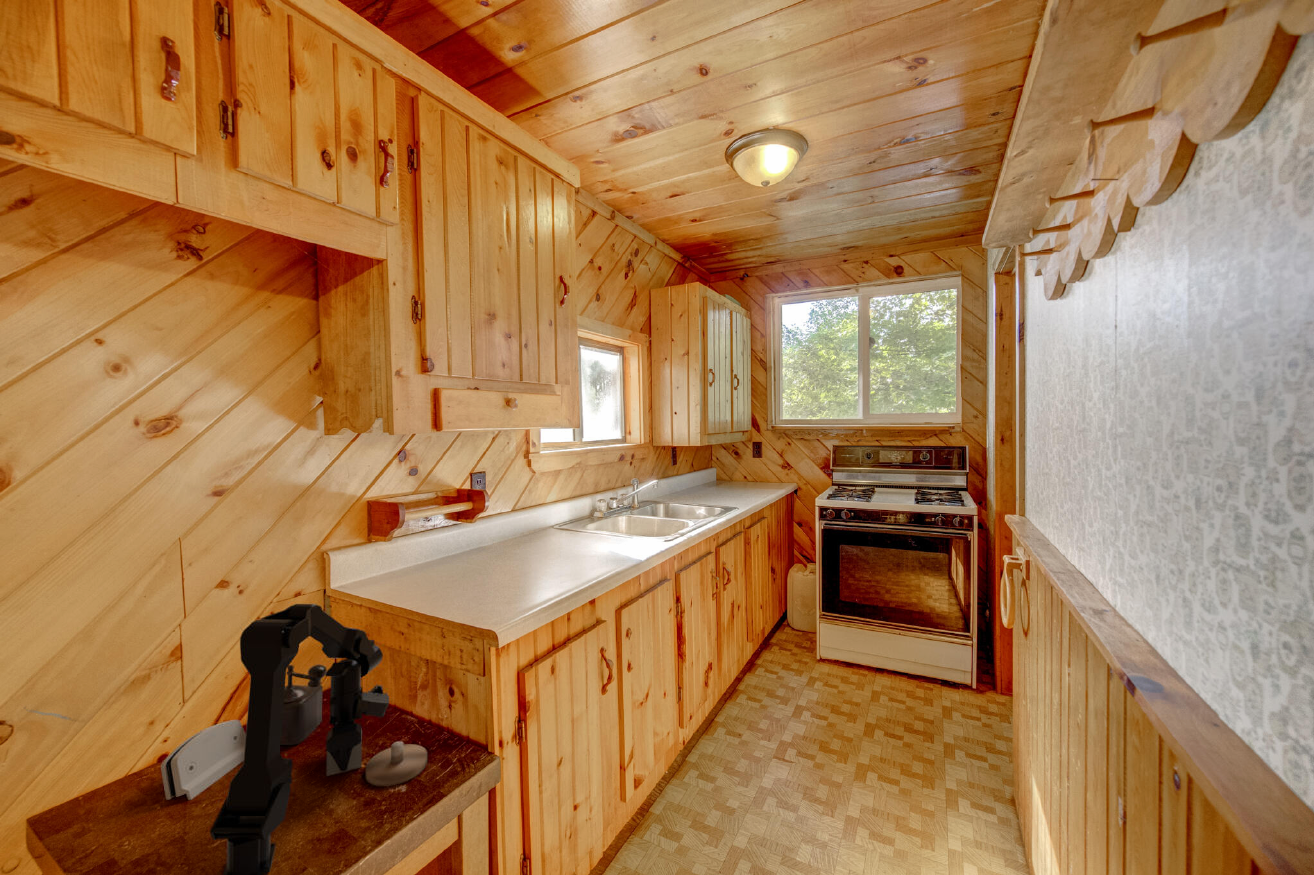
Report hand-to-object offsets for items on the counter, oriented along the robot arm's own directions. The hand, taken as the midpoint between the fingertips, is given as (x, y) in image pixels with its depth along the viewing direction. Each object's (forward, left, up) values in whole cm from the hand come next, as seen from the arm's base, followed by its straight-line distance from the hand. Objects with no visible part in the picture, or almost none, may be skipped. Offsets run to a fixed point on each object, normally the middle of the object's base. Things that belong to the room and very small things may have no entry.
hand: (344, 758), depth 113 cm
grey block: (0, 0, -1) cm, 1 cm away
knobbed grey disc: (-7, -10, -1) cm, 12 cm away
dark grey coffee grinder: (+18, +10, -1) cm, 21 cm away
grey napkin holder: (+10, +25, -1) cm, 27 cm away
